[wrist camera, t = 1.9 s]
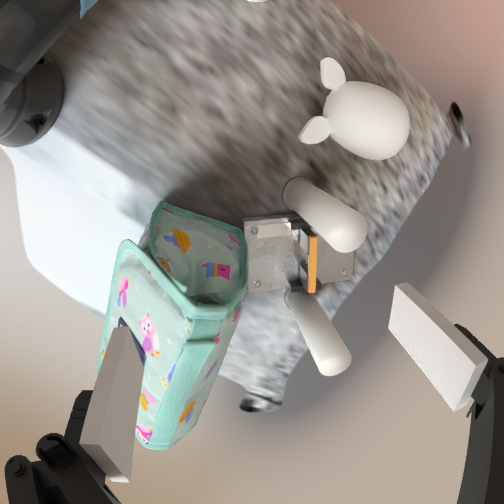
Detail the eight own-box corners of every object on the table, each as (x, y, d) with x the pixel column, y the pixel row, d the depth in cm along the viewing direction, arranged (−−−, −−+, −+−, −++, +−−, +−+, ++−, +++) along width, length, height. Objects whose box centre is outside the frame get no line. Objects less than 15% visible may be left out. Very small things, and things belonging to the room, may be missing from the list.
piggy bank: (385, 114, 47) (303, 80, 44) (426, 92, 35) (331, 44, 32) (374, 181, 47) (286, 150, 44) (418, 171, 36) (314, 126, 33)
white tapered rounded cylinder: (284, 311, 56) (314, 381, 40) (283, 284, 54) (317, 351, 37) (313, 306, 57) (351, 373, 40) (314, 280, 55) (356, 343, 38)
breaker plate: (246, 287, 53) (250, 299, 49) (242, 218, 48) (245, 226, 45) (347, 274, 55) (356, 284, 52) (351, 209, 50) (362, 215, 47)
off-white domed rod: (282, 212, 49) (323, 259, 33) (281, 178, 47) (324, 208, 30) (315, 209, 50) (368, 253, 33) (315, 176, 48) (372, 205, 31)
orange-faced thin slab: (300, 280, 51) (307, 293, 47) (300, 228, 47) (309, 238, 44) (308, 279, 51) (316, 292, 47) (309, 227, 48) (318, 237, 44)
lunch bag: (150, 189, 45) (92, 266, 20) (252, 225, 49) (302, 329, 25) (115, 313, 52) (75, 438, 27) (202, 339, 56) (210, 469, 31)
